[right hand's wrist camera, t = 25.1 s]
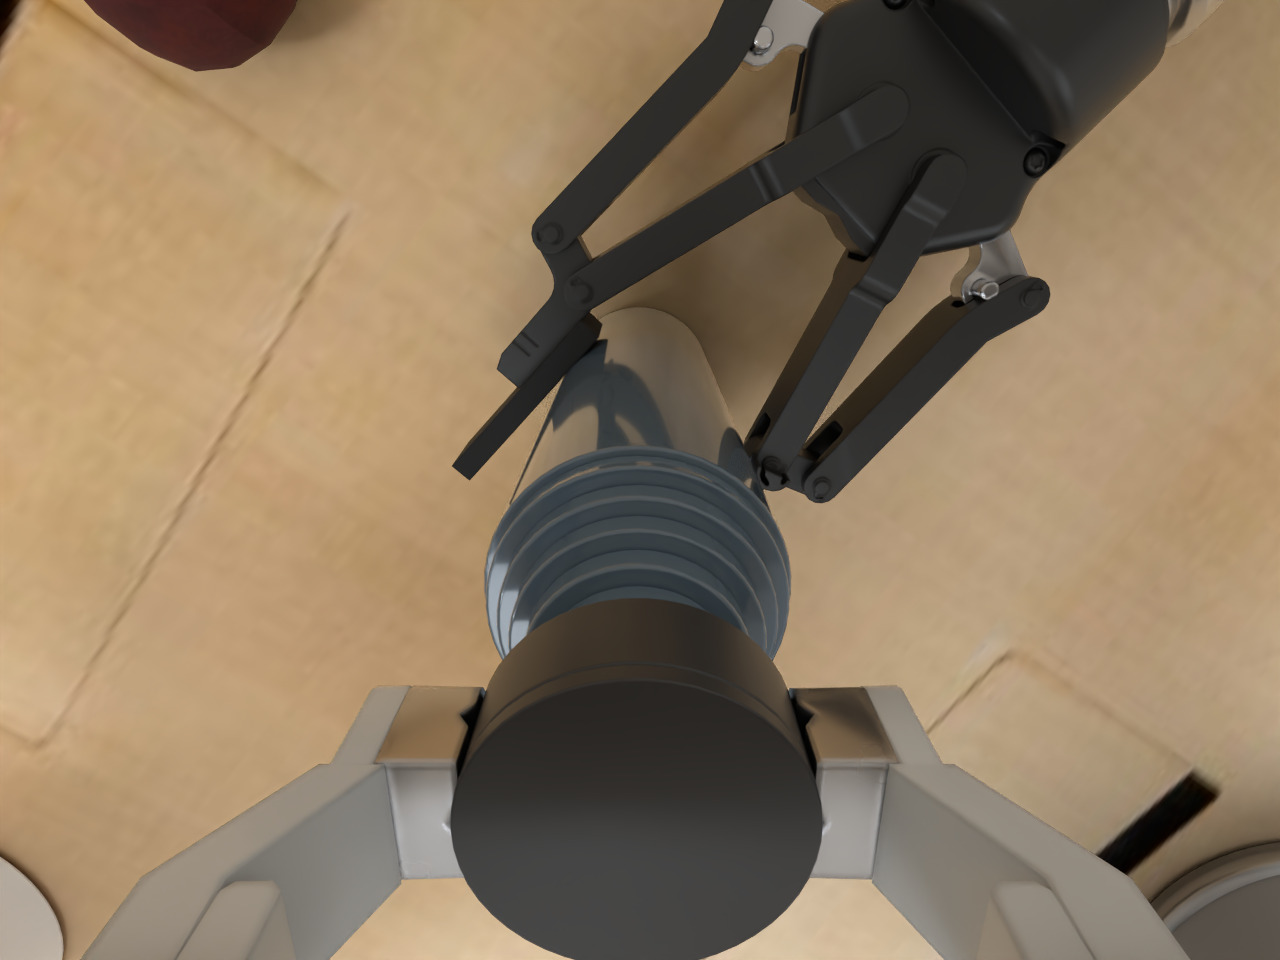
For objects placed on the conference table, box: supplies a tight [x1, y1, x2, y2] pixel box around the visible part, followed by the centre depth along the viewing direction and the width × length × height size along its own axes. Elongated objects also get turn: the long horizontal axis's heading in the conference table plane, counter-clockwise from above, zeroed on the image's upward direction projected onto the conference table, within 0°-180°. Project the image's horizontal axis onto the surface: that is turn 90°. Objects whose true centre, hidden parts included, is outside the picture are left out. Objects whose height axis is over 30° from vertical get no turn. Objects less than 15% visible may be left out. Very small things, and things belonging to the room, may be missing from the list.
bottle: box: [484, 307, 791, 661], centre depth 20 cm, size 6×6×24 cm
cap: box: [450, 598, 823, 960], centre depth 10 cm, size 4×4×2 cm
